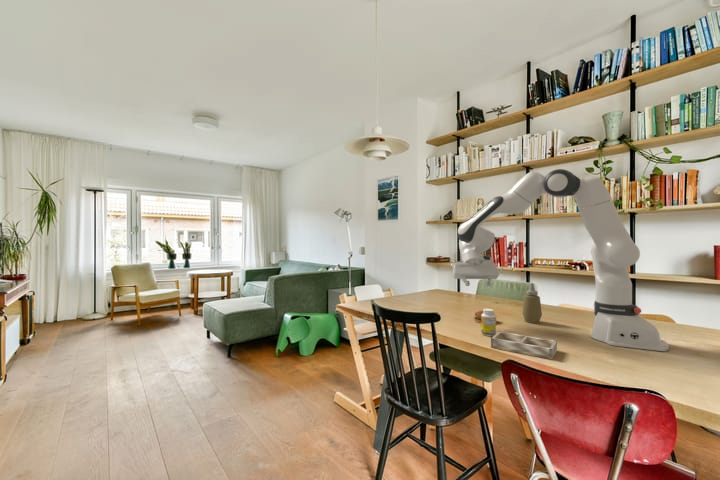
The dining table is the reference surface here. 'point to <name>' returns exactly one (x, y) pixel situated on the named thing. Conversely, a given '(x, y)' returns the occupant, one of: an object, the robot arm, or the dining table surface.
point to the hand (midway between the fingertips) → (478, 285)
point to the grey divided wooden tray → (524, 344)
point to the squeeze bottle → (532, 306)
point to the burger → (478, 316)
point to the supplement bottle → (488, 322)
